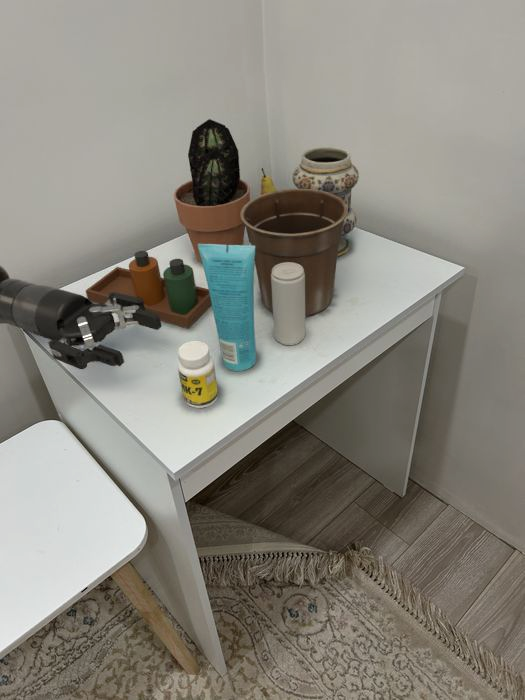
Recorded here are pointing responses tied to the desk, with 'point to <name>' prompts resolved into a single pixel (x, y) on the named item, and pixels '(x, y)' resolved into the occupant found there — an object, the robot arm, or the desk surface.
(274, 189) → the fruit
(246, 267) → the tube
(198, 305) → the serving tray
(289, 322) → the beverage can
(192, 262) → the desk surface
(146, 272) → the amber bottle
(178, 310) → the green bottle
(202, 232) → the potted plant
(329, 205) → the plant pot
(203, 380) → the supplement bottle
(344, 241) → the apothecary jar
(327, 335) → the desk surface
